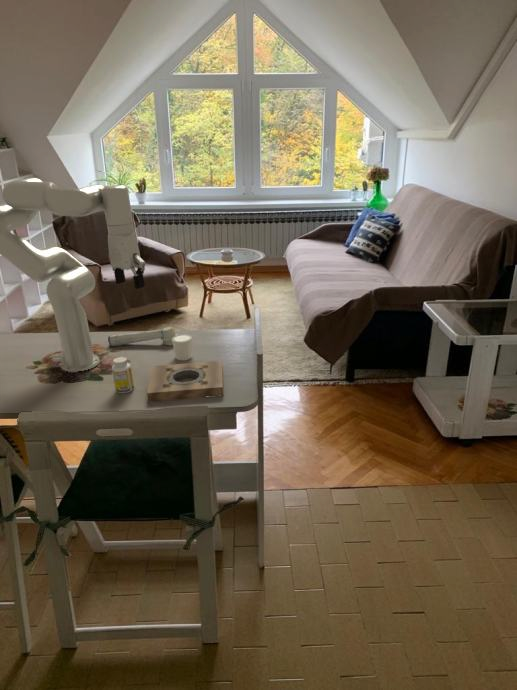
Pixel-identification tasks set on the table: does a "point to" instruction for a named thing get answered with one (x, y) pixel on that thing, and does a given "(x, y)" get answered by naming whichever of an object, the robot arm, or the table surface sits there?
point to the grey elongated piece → (143, 337)
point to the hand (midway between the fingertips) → (130, 285)
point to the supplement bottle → (122, 375)
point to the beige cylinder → (182, 346)
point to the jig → (169, 388)
